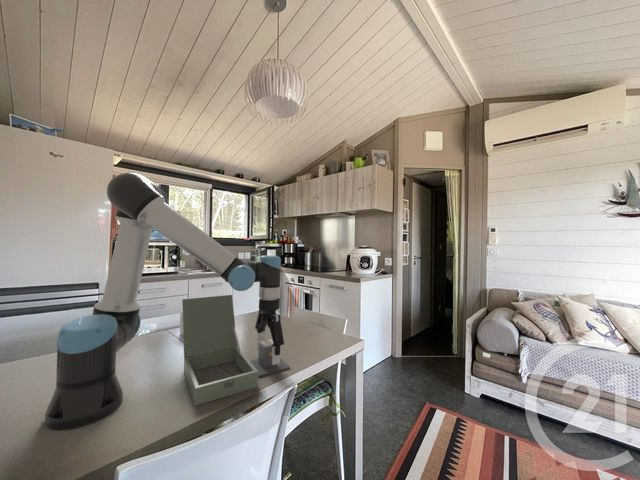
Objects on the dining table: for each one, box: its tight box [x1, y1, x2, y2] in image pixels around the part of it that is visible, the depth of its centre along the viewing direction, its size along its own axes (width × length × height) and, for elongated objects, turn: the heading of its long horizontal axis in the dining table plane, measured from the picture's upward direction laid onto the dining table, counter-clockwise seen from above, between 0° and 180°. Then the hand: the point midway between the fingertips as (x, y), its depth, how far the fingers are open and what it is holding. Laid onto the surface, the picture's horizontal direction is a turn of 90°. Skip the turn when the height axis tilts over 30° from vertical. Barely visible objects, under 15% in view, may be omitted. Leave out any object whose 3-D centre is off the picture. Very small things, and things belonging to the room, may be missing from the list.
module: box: [257, 338, 277, 368], centre depth 96 cm, size 5×5×8 cm
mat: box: [249, 358, 291, 379], centre depth 96 cm, size 12×12×1 cm
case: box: [181, 294, 259, 407], centre depth 89 cm, size 18×31×23 cm, turn 35°
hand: (267, 356), depth 96 cm, fingers open, 13 cm apart
